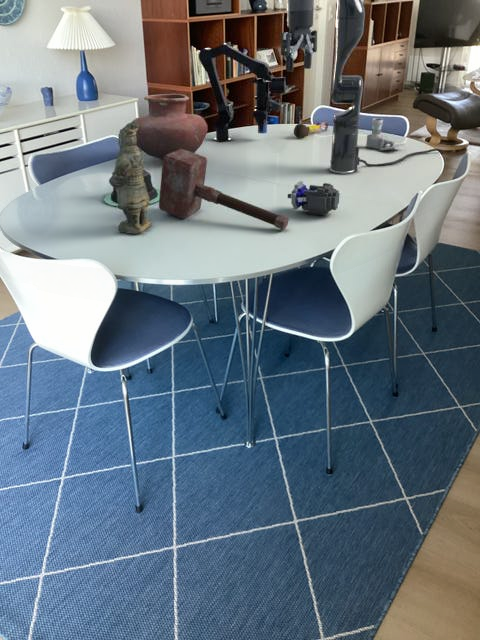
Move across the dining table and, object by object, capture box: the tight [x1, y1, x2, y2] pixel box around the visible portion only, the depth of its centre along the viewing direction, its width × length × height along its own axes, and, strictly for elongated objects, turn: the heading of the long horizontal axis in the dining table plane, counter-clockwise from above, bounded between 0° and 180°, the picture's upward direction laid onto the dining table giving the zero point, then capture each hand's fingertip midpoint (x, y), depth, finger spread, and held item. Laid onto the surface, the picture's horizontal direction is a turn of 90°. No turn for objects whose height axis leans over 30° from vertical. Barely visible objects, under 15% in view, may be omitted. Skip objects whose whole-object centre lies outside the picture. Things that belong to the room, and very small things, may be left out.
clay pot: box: [131, 93, 209, 161], centre depth 222 cm, size 30×30×25 cm
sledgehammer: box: [158, 149, 290, 231], centre depth 163 cm, size 17×10×40 cm
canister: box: [257, 121, 268, 134], centre depth 253 cm, size 4×4×4 cm
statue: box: [108, 120, 153, 235], centre depth 154 cm, size 11×9×30 cm
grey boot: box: [365, 117, 406, 152], centre depth 234 cm, size 9×12×15 cm
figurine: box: [293, 119, 329, 139], centre depth 263 cm, size 13×8×25 cm
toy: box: [287, 180, 341, 216], centre depth 168 cm, size 9×9×15 cm
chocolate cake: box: [103, 168, 160, 207], centre depth 186 cm, size 15×19×20 cm
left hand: (262, 130), depth 253 cm, fingers closed on canister, 4 cm apart
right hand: (298, 70), depth 168 cm, fingers open, 8 cm apart
